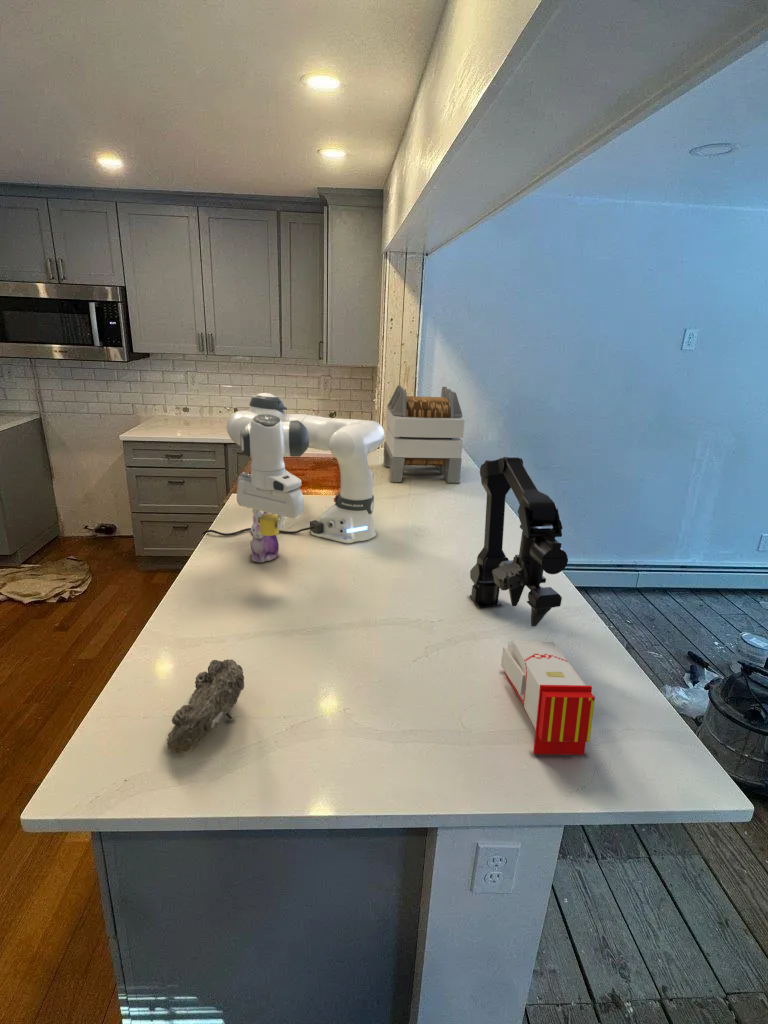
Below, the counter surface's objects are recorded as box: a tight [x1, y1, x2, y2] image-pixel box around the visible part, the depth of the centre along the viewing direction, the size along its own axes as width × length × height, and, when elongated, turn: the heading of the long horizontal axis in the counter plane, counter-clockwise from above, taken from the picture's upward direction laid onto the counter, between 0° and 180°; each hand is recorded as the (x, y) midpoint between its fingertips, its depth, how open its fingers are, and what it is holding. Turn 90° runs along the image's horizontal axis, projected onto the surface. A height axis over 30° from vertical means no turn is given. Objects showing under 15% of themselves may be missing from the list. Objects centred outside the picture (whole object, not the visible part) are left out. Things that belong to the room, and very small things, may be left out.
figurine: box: [249, 511, 280, 563], centre depth 174 cm, size 9×10×15 cm
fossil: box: [166, 658, 245, 754], centre depth 106 cm, size 22×10×15 cm
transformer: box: [383, 384, 465, 484], centre depth 268 cm, size 34×33×41 cm
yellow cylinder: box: [260, 513, 280, 536], centre depth 154 cm, size 5×5×4 cm
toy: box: [500, 640, 596, 756], centre depth 114 cm, size 12×13×30 cm
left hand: (269, 526), depth 154 cm, fingers closed on yellow cylinder, 5 cm apart
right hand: (523, 615), depth 131 cm, fingers open, 9 cm apart
